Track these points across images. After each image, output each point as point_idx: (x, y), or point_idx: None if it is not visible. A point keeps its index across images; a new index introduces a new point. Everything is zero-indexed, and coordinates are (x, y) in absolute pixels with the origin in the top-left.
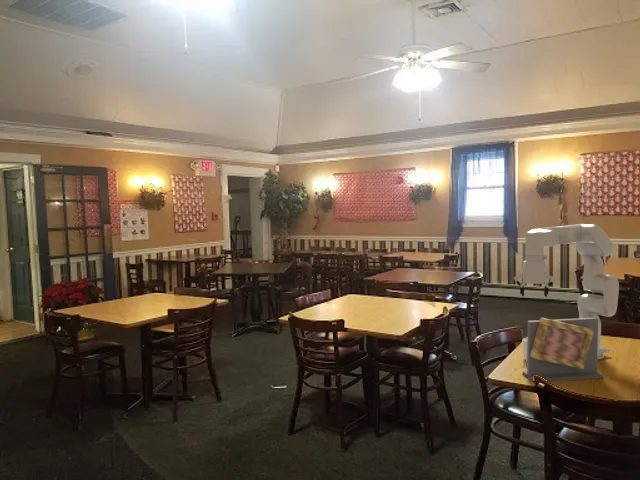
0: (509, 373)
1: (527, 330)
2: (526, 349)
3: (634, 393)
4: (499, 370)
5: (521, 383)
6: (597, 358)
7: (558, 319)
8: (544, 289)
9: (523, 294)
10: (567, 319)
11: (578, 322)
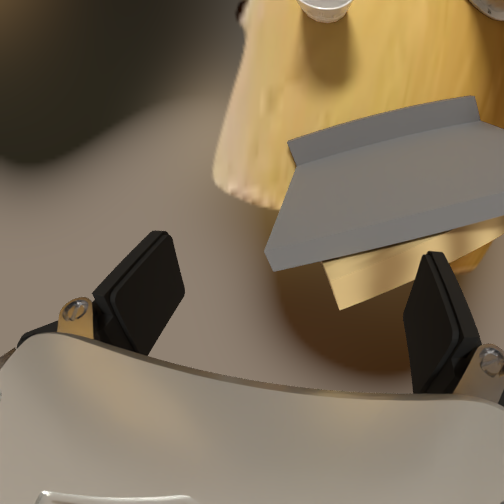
0: (252, 140)
1: (274, 226)
2: (306, 10)
3: (492, 241)
4: (226, 121)
5: (278, 208)
6: (502, 20)
7: (446, 208)
8: (434, 331)
9: (174, 305)
10: (487, 206)
11: None
